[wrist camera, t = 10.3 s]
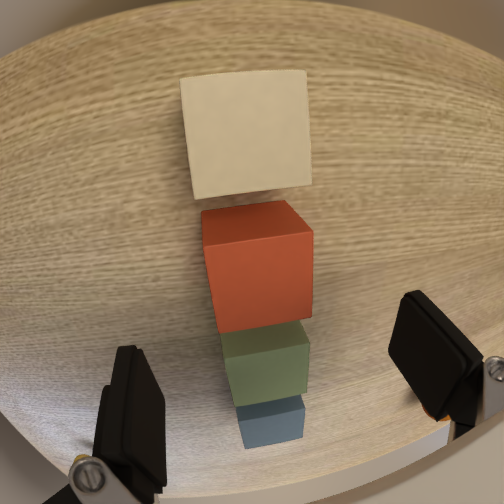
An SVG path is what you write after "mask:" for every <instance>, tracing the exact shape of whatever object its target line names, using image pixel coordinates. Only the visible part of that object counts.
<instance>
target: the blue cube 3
mask: <svg viewBox="0 0 504 504" xmlns="http://www.w3.org/2000/svg"><path fill="white" fill-rule="evenodd" d="M236 413H237V419H238V424H239V428H240V432H241V435H242V439H243V443H244V447H245V449H249V448H255V447H261V446H266V445H271V444H276V443H281V442H286V441H290V440H295V439H299V438H303V429H304V419H305V405H304V403H303V400H302V397H301V394H300V395H295V396H291V397H286V398H282V399H277V400H272V401H267V402H261V403H256V404H250V405H244V406H238V407H236Z"/></svg>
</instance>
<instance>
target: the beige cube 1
mask: <svg viewBox="0 0 504 504" xmlns="http://www.w3.org/2000/svg"><path fill="white" fill-rule="evenodd" d="M179 84H180V94H181V103H182V112H183V120H184V129H185V137H186V145H187V152H188V160H189V167H190V174H191V181H192V188H193V195H194V199H195V200H198V199H205V198H212V197H219V196H226V195H233V194H241V193H249V192H257V191H265V190H273V189H282V188H292V187H301V186H311V185H312V163H311V139H310V120H309V104H308V90H307V77H306V70H259V71H242V72H229V73H219V74H209V75H201V76H193V77H186V78H180V79H179Z"/></svg>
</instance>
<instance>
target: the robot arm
mask: <svg viewBox="0 0 504 504" xmlns="http://www.w3.org/2000/svg"><path fill="white" fill-rule="evenodd" d="M388 353H389V356H390V357H391V359H392V360H393V362H394V363H395V365H396V366H397V367H398V369H399V370H400V372H401V373H402V375H403V376H404V378H405V379H406V381H407V382H408V384H409V385H410V387H411V388H412V390H413V391H414V393H415V394H416V396H417V397H418V399H419V400H420V402H421V403H422V405H423V406H424V408H425V410H426V411H427V413H428V414H429V415H430V416H431V417H434V418H435V420H436V422H438V421H440V420H441V419H443V418H445V417H447V416H448V415H449V417H450V418H451V422H450V430H449V436H448V443H447V445H446V446H444V447H442V448H440V449H439V450H437V451H435V452H433V453H431V454H429V455H428V456H426V457H424V458H422V459H420V460H418V461H416V462H414V463H412V464H410V465H408V466H406V467H404V468H402V469H400V470H398V471H395V472H393V473H391V474H389V475H387V476H384V477H382V478H380V479H377V480H375V481H372V482H370V483H367V484H365V485H363V486H360V487H357V488H354V489H351V490H348V491H346V492H343V493H340V494H337V495H333V496H330V497H327V498H324V499H321V500H317V501H314V502H310V503H307V504H504V358H502V357H499V356H492V357H489V358H488V359H486V361H485V363H484V362H483V361H482V359H483V357H484V356H483V355H482V354H481V353H480V352H479V351H478V349H477V348H476V347H475V346H474V345H473V344H472V343H471V342H470V341H469V340H468V338H467V337H466V336H465V335H464V334H463V333H462V332H461V331H460V330H459V329H458V328H457V327H456V326H455V325H454V324H453V323H452V321H451V320H450V319H449V318H448V317H447V316H446V315H445V314H444V313H443V312H442V311H441V310H440V309H439V308H438V307H437V306H436V305H435V304H434V303H433V302H432V301H431V300H430V299H429V298H428V297H427V296H426V295H425V294H424V293H423V292H422V291H420V290H415V291H411V292H408V293H405V295H404V297H403V298H402V299H401V301H400V306H399V310H398V314H397V318H396V322H395V326H394V329H393V333H392V337H391V340H390V344H389V347H388ZM68 478H69V484H68V485H66V486H65V487H64V488H62V489H61V490H60V491H59V492H57V493H56V494H55V495H53V496H52V497H51V498H49V499H48V500H47V501H45V502H44V503H42V504H153V503H154V502H155V501H154V494H163V490H162V487H166V486H167V471H166V437H165V399H164V396H163V393H162V391H161V389H160V387H159V385H158V383H157V381H156V379H155V377H154V375H153V373H152V370H151V368H150V366H149V364H148V362H147V359H146V357H145V355H144V353H143V351H142V349H137V347H136V346H135V345H129V346H119V347H118V349H117V353H116V358H115V363H114V368H113V373H112V378H111V383H110V385H105V386H104V388H103V391H102V395H101V400H100V406H99V412H98V418H97V424H96V431H95V438H94V445H93V453H92V457H91V456H88V457H82V458H80V459H78V460H77V461H76V462H74V463H73V464H72V466H71V468H70V470H69V474H68Z"/></svg>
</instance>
